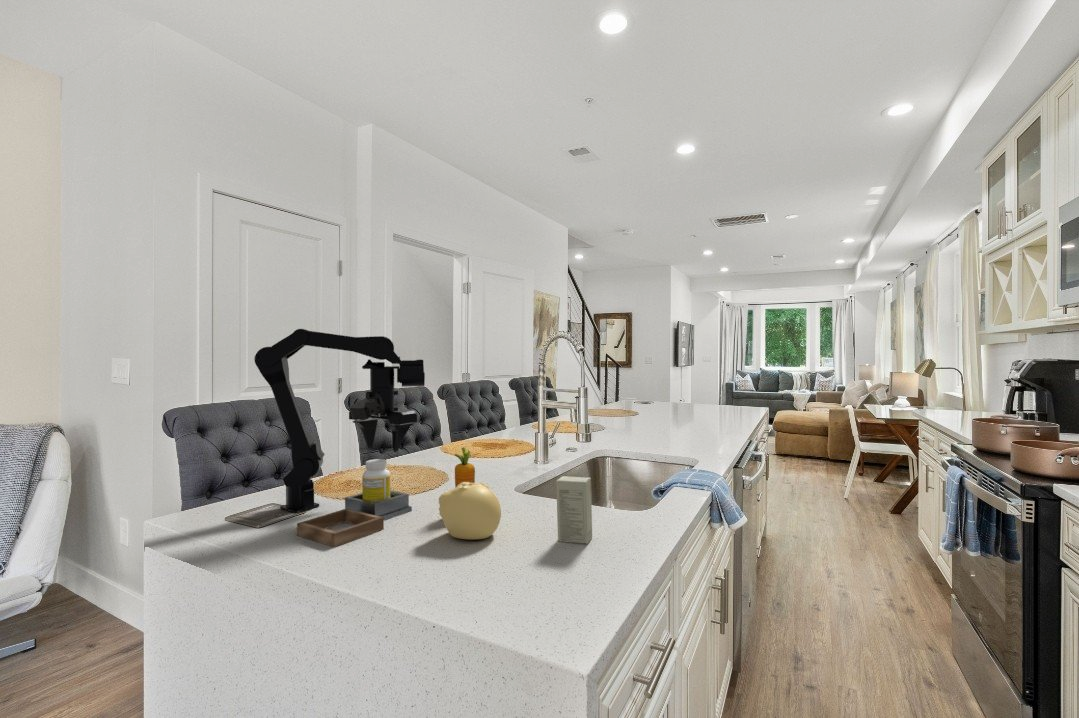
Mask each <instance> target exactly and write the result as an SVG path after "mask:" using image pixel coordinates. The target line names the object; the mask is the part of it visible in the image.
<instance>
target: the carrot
mask: <svg viewBox="0 0 1079 718" xmlns="http://www.w3.org/2000/svg"><path fill="white" fill-rule="evenodd" d="M461 452H462V455H460V454H459V453H457V452H456V453H454V456H455V457H457V458H458V459H459V461H460V462H461V463H458V464H456V465H455V466H454V488H456V487H457V485H458V484H460V483H462V482H469V483H476V482H475V481H476V480H475V479H476V471H475V469H476V468H475V466H474V464H473V463H470V462H469V460H470V456H471V451H470V449H469V450H467V449H466V447H461ZM468 462H469V463H468Z"/></svg>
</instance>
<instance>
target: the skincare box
mask: <svg viewBox="0 0 1079 718" xmlns="http://www.w3.org/2000/svg"><path fill="white" fill-rule="evenodd" d="M555 484H556V510H557V511H556V512H557V513H556V515H557V521H556V522H557V541H558V542H562V541H566V542H565V543H572V542H578V543H577V544H583V543H588V544H589V542H590V541H591V540H592V539H593V513H592V511H593V510H592V508H593V507H592V478H591V476H590V477H586V476H585V477H584V476H568V475H565V476H564V475H562V476H561V477H559V478H558V479H556V483H555Z"/></svg>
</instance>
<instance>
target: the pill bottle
mask: <svg viewBox="0 0 1079 718" xmlns="http://www.w3.org/2000/svg"><path fill="white" fill-rule="evenodd" d="M387 465H388V464H387V460H386V459H385V458H384V459H382V458H374V459H369V460H367V461H365V467H364V468H365V469H366V470H365V471H364V472H363V473H362V477H361V479H362V481H361V482H362V485H361V487H362V493H363V500H366V501H370V502H375V503H376V502H379V501H382V500H385V499H389V498H390V490H391V472H390V471H389V470H388V469H387Z"/></svg>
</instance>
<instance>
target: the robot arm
mask: <svg viewBox="0 0 1079 718" xmlns="http://www.w3.org/2000/svg"><path fill="white" fill-rule="evenodd" d="M306 346H307V347H317V348H325V349H331V350H338V351H339V350H340V351H347V352H353V353H357V354H361V355H363V356H366V357H369V358H373V359H376V360H379V361H376V362H375V361H372V360H371V359H367V361H366V362H365V364H364V365H362V366H361V368H362V370H370V371H369V373H370V374H369V377H370V378H369V380H370V383H369V385H370V388H369V389H370V390H369V391H368V390H367V391H366V393H365V398H363V399H362V400H361V399H360V400H358V401H357V402H355V403H353V404H352V405H350V406H349V407H348V408H349V411H348V420H352V423H353V424H356V426H358V427H359V428H360V430H361V432H362V435H363V437H364V441H365V443H366V446H367V448H368V449H372V448H373V446H374V442H375V438H376V433H377V426H378V420H379V419H380V420H388V422H389V424H387V427H388V428H389V429H390V430H391V437H392V438H391V439H392V449H393V453H397V452H398V451H399V450H400V447H401V445H402V443H403V441H404V439H405V437H406V435H407V433H408V431H409V430H410V428H411V426H414V423H417V422H418V413H417V412H416V411H415V410H413V409H412V410H409V409H400V410H399V407H397V406H395V396H398V395H399V390H395V370H396V383H397V384H398V383H399V384H401V387H404V388H405V387H406V388H407V387H425V386H426V385H425V383H426V382H425V378H426V377H425V375H426V374H425V371H424V370H425V369H424V365H425V364H424V359H415V360H414V359H409V360H408V359H407V360H406V359H405V360H402V359H401V356H398V354H397V353H396V352H395V345H394V342H393V341H392V340H391V339H390V338H389V337H386V336H348V335H343V334H334V333H329V332H319V331H313V330H307V329H304V328H298V329H296V330H294V331H293V332H292V333H291V334H289V335H288V336H286V337H284V338H283V339H281V340H279V341H278V342H276V343H274V344H273V345H271V346H265V347H261V348H260V349H258V351H257V352H256V354H255V355H254V358H253V359H254V363H255V366H256V367H257V369H258V371H259V373H260V375H261V376H262V377H263V378H264V380H265V381H266V382H267V385H269V386H270V389H271V391H272V393H273V397H274V399H275V402H276V405H277V407H278V410H279V413H280V416H281V419H282V422H283V425H284V428H285V430H286V433H287V435H288V438H289V441H290V453H291V454H290V455H291V462H292V463H291V464H292V468H291V469H290V470H289V471H288V472H287V473H286V475H285V476H284V477H283V478H282V480H283V483H284V486H285V504H283V505H280V506H279V509H280V508H281V510H284V509H285V510H284V511H288V510H289V511H288V512H292V511H293V513H299V512H298V511H300V512H302V511H307V510H310V509H313V508H318V507H319V506H320V503H319V502H315V488H314V485H315V484H314V481H313V479H312V478H313V477H314V476H315V475H316V474H317V473H318V472H319V470H320V469H321V468H322V465H323V462H324V456H325V453H324V451H323V449H322V448H321V442H320V440H319V439H317V440H315V441H313V439H312V438H311V436H310V435H309V432H308V430H307V428H306V424H305V422H304V419H303V416H302V412H301V411H300V408H299V404H298V402H297V398H296V395H295V394H294V390H293V388H292V387H293V386H292V385H291V383H290V382H291V381H290V368H289V361H288V359H290V358H291V357H293V356H294V355H295V354H297V353H298V352H299V351H301V350H302V349H303V348H305V347H306ZM382 360H383V361H382ZM384 360H386V361H387V362H389V363H391V364H393V366H392V365H391V366H389V365H387V366H386V363H385V361H384ZM380 361H381V362H380ZM394 364H395V366H394ZM397 364H398V365H399V366H398V365H397Z"/></svg>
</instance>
